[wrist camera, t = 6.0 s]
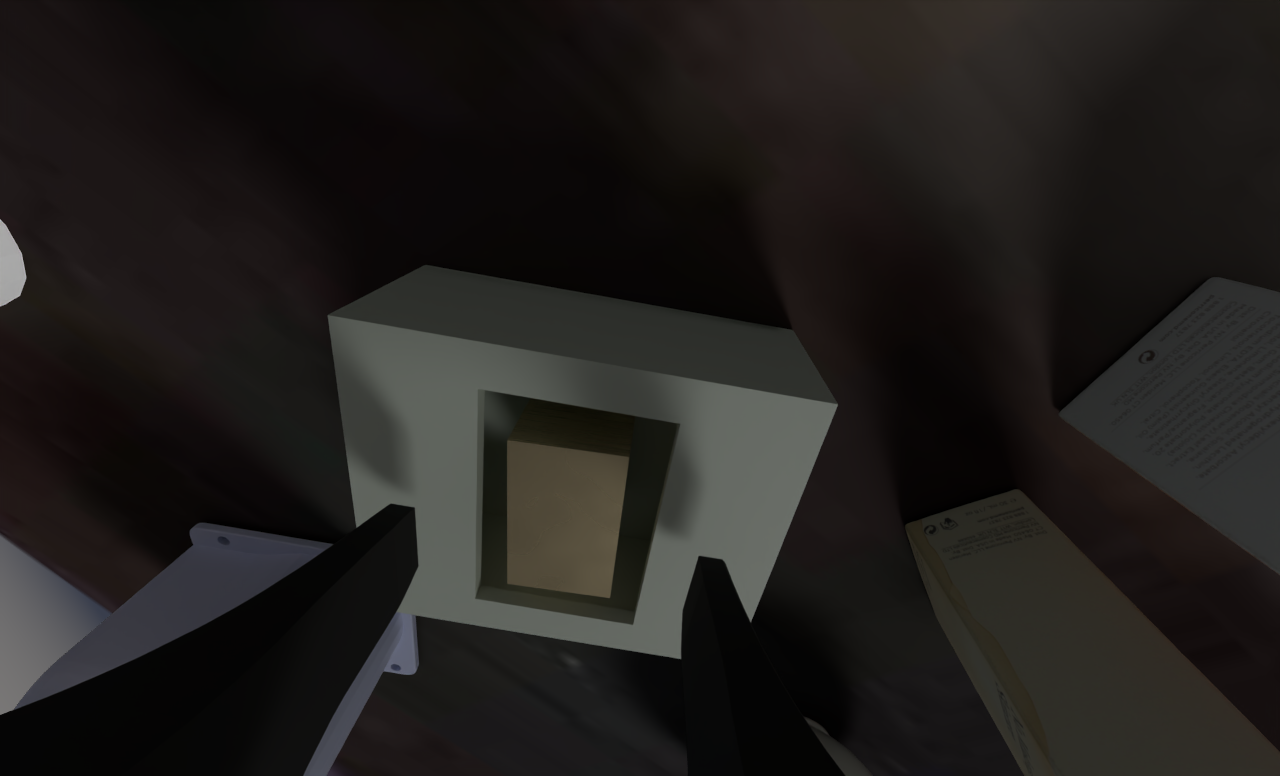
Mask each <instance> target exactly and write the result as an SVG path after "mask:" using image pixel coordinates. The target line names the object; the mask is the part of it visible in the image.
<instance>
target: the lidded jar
mask: <svg viewBox="0 0 1280 776" xmlns="http://www.w3.org/2000/svg"><path fill="white" fill-rule="evenodd" d="M804 718H805V720H806V721H807V723H808V724H809V726H810V727H811V729H812V730H813V731H814V733H815V734H816V736H817V737H818V739H819V740H820V742H821V743H822V745H823V746H824V748H825V749H826V750H827V752H828V753H829V754H830V756H831V757H832V758H833V760H834V761H835V762H836V764H837V765H838V766H839V768H840V769H841V770H842V772H843V773H844V774H845V776H873V775H872V774H871V773H870V771H869V770H868V769H867V768H866V767H865V766H864V765H863V764H862V763H861V761H860V760H859V759H858V758H857V757H856V756H855V755H854V754H853V753H852V752H851V751H849V750H848V749H847V748H846V747H845V746H843V745H842V744H841V743H839V742H838V741H836V740H835V739H834V738H832V737H830V735H829V734H828V732H827V731H826V730H825V729H824V728H823V727H822V726H821V725H820V724H818V723H817V722H815V721H813V720H811V719H809V718H807V717H804Z"/></svg>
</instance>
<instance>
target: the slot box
mask: <svg viewBox="0 0 1280 776" xmlns="http://www.w3.org/2000/svg"><path fill="white" fill-rule="evenodd" d="M328 321H329V329H330V336H331V343H332V351H333V358H334V365H335V373H336V380H337V387H338V395H339V402H340V409H341V417H342V424H343V431H344V439H345V446H346V453H347V461H348V468H349V476H350V483H351V490H352V498H353V505H354V512H355V520H356V527H358V526H360V525H361V524H362V523H364V522H365V521H367V520H368V519H369V518H371V517H372V516H373V515H375V514H376V513H378V512H379V511H380V510H382V509H383V508H385V507H386V506H388V505H389V504H397V505H403V506H409V507H415V517H416V533H417V549H418V565H419V566H418V568H417V571H416V573H415V575H414V577H413V580H412V582H411V584H410V586H409V588H408V590H407V592H406V595H405V597H404V599H403V601H402V603H401V605H400V607H399V608H398V610H397V612H399V613H405V614H411V615H417V616H423V617H429V618H436V619H442V620H448V621H454V622H460V623H466V624H472V625H478V626H484V627H490V628H496V629H502V630H508V631H514V632H520V633H526V634H532V635H538V636H545V637H551V638H557V639H563V640H569V641H575V642H581V643H587V644H593V645H599V646H605V647H611V648H617V649H623V650H629V651H635V652H641V653H647V654H653V655H660V656H666V657H672V658H678V659H681V632H682V610H683V607H684V603H685V600H686V597H687V593H688V590H689V587H690V583H691V580H692V577H693V573H694V570H695V567H696V563H697V560H698V557H699V556H705V557H711V558H717V559H723V561H724V562H725V563H726V566H727V568H728V571H729V574H730V576H731V579H732V581H733V584H734V586H735V588H736V591H737V593H738V595H739V598H740V600H741V602H742V604H743V607H744V609H745V611H746V613H747V615H748V618H749V620H750V622H751V621H752V618H753V616H754V613H755V611H756V608H757V606H758V603H759V601H760V598H761V596H762V593H763V591H764V588H765V586H766V583H767V581H768V578H769V576H770V573H771V571H772V568H773V566H774V563H775V561H776V558H777V556H778V553H779V551H780V548H781V546H782V543H783V541H784V538H785V536H786V533H787V531H788V528H789V526H790V523H791V521H792V518H793V516H794V513H795V511H796V508H797V506H798V503H799V501H800V498H801V496H802V493H803V491H804V488H805V486H806V483H807V481H808V478H809V476H810V473H811V471H812V468H813V466H814V463H815V461H816V458H817V456H818V453H819V451H820V448H821V446H822V443H823V441H824V438H825V436H826V433H827V431H828V428H829V426H830V423H831V421H832V418H833V416H834V413H835V411H836V408H837V406H838V404H837V402H836V400H835V399H834V397H833V395H832V394H831V392H830V391H829V389H828V387H827V386H826V384H825V382H824V381H823V379H822V377H821V376H820V374H819V372H818V371H817V369H816V367H815V366H814V364H813V362H812V361H811V359H810V357H809V356H808V354H807V353H806V351H805V349H804V348H803V346H802V344H801V343H800V341H799V339H798V338H797V336H796V334H795V333H794V331H793V330H790V329H785V328H779V327H773V326H768V325H762V324H756V323H751V322H745V321H739V320H734V319H728V318H723V317H717V316H711V315H706V314H700V313H694V312H689V311H683V310H678V309H672V308H666V307H661V306H655V305H649V304H644V303H638V302H632V301H627V300H621V299H616V298H610V297H604V296H599V295H593V294H587V293H582V292H576V291H570V290H565V289H559V288H554V287H548V286H542V285H537V284H531V283H525V282H520V281H514V280H508V279H503V278H497V277H492V276H486V275H480V274H475V273H469V272H463V271H458V270H452V269H446V268H441V267H435V266H430V265H424V266H422V267H420V268H418V269H416V270H414V271H412V272H410V273H408V274H406V275H405V276H403V277H401V278H399V279H397V280H395V281H393V282H391V283H389V284H387V285H385V286H383V287H381V288H379V289H377V290H375V291H373V292H372V293H370V294H368V295H366V296H364V297H362V298H360V299H358V300H356V301H354V302H352V303H350V304H348V305H346V306H344V307H342V308H340V309H339V310H337V311H335V312H333V313H331V314H329V315H328ZM530 398H534V399H540V400H546V401H551V402H557V403H563V404H569V405H574V406H580V407H586V408H592V409H597V410H603V411H609V412H615V413H621V414H626V415H632V416H635V423H634V430H633V438H632V445H631V452H630V459H629V467H628V474H627V481H626V488H625V495H624V502H623V510H622V517H621V524H620V531H619V538H618V545H617V552H616V559H615V566H614V573H613V580H612V587H611V594H610V598H605V597H598V596H591V595H584V594H577V593H569V592H562V591H555V590H548V589H541V588H534V587H526V586H519V585H512V584H507V440H508V438H509V436H510V434H511V432H512V431H513V429H514V427H515V425H516V423H517V421H518V420H519V418H520V416H521V414H522V412H523V411H524V409H525V407H526V405H527V403H528V402H529V400H530Z"/></svg>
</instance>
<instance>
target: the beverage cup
mask: <svg viewBox="0 0 1280 776" xmlns="http://www.w3.org/2000/svg"><path fill="white" fill-rule="evenodd" d="M25 280H26V274H25V268H24V263H23V258H22V253H21V251H20V250H19V248H18V246H17V244H16V243H15V241H14V239H13V237H12V235H11V234H10V232H9V230H8V228H7V227H6V225H5V224H4V223H3V222H2V221H1V220H0V306H2V305H5V304H7V303H8V302H10V301H12V300H13V299H15V298H17V297H19V296H20V294H21V291H22V289H23V286H24V283H25Z"/></svg>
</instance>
